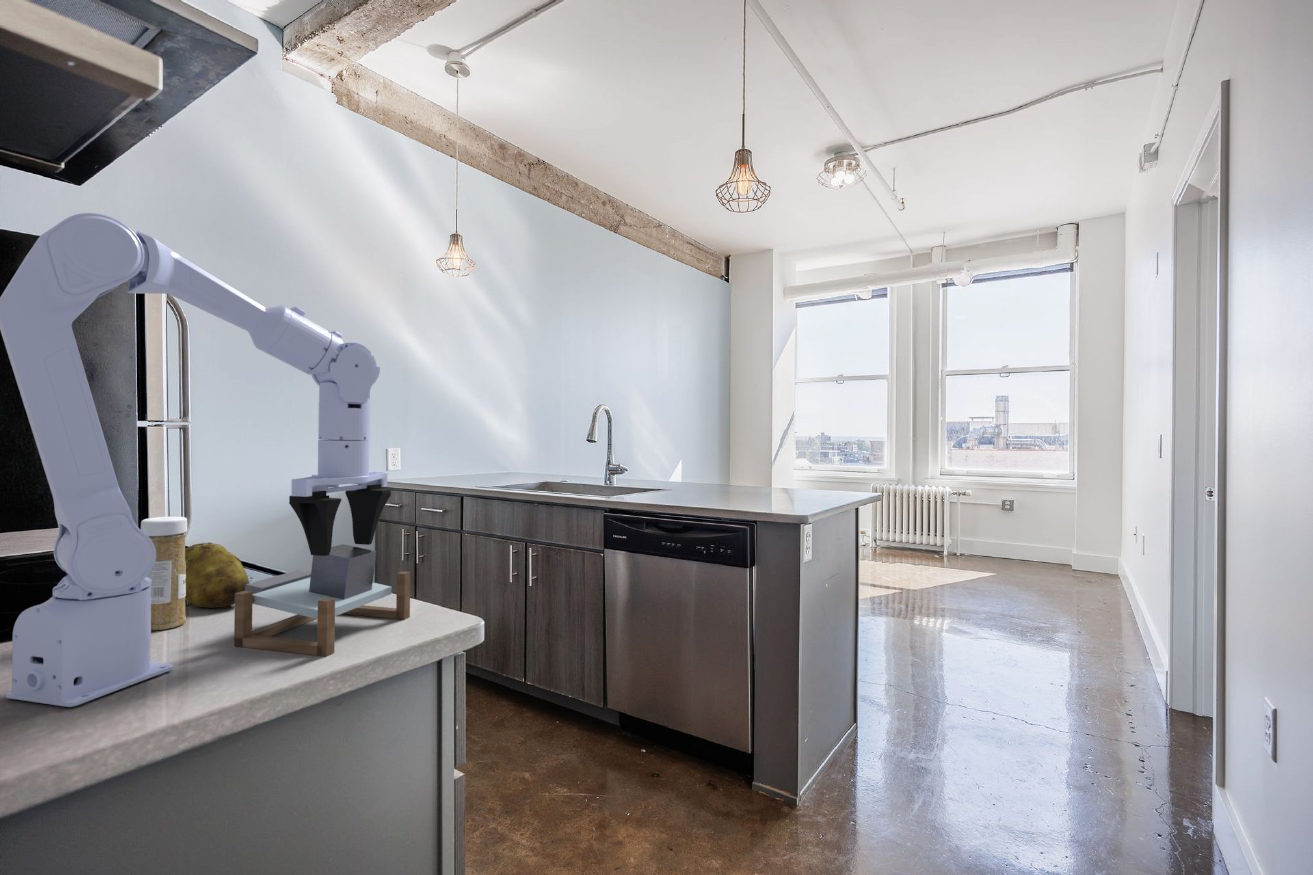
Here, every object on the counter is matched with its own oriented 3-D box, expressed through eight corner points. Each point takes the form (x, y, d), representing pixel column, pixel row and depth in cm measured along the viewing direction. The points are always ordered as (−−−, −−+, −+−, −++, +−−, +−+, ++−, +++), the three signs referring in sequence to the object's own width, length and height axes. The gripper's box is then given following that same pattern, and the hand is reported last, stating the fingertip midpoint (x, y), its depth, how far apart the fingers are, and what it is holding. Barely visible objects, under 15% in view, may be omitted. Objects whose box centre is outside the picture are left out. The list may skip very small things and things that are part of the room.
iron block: (344, 599, 76) (349, 558, 75) (308, 591, 77) (313, 551, 76) (371, 589, 80) (376, 551, 80) (338, 582, 81) (342, 544, 81)
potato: (176, 618, 81) (176, 556, 81) (170, 597, 91) (171, 542, 91) (252, 607, 87) (252, 550, 87) (239, 589, 97) (239, 536, 96)
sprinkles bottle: (195, 622, 80) (196, 516, 80) (159, 633, 76) (160, 521, 75) (166, 619, 81) (168, 514, 81) (129, 629, 77) (131, 519, 77)
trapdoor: (323, 622, 71) (325, 610, 71) (229, 599, 74) (231, 588, 74) (390, 595, 83) (392, 585, 83) (307, 577, 85) (308, 567, 85)
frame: (326, 656, 69) (327, 601, 69) (234, 645, 72) (234, 593, 72) (409, 616, 84) (410, 572, 84) (330, 609, 87) (331, 566, 86)
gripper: (355, 439, 86) (354, 538, 86) (269, 440, 72) (267, 558, 72) (401, 440, 85) (400, 540, 85) (322, 441, 71) (320, 562, 71)
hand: (342, 549), depth 78 cm, fingers open, 7 cm apart
